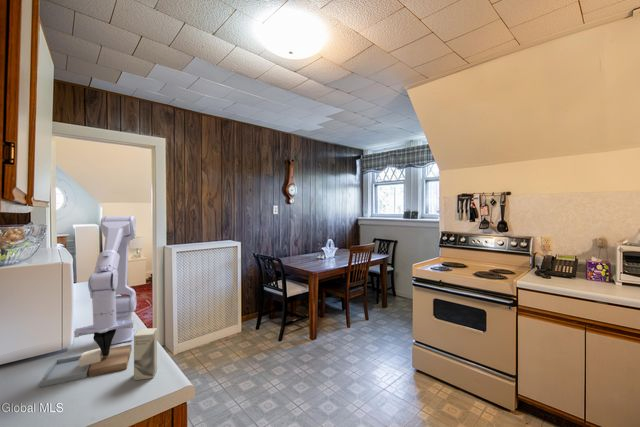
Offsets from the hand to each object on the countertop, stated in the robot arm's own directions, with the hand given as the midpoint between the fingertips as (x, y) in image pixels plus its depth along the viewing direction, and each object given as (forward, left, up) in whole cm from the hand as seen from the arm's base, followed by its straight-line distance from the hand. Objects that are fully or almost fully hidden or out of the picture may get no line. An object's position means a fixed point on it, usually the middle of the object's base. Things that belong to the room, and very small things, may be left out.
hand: (106, 354), depth 91 cm
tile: (0, -3, -1) cm, 3 cm away
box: (+12, +11, -3) cm, 17 cm away
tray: (0, -9, -3) cm, 9 cm away
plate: (0, +1, -3) cm, 3 cm away
